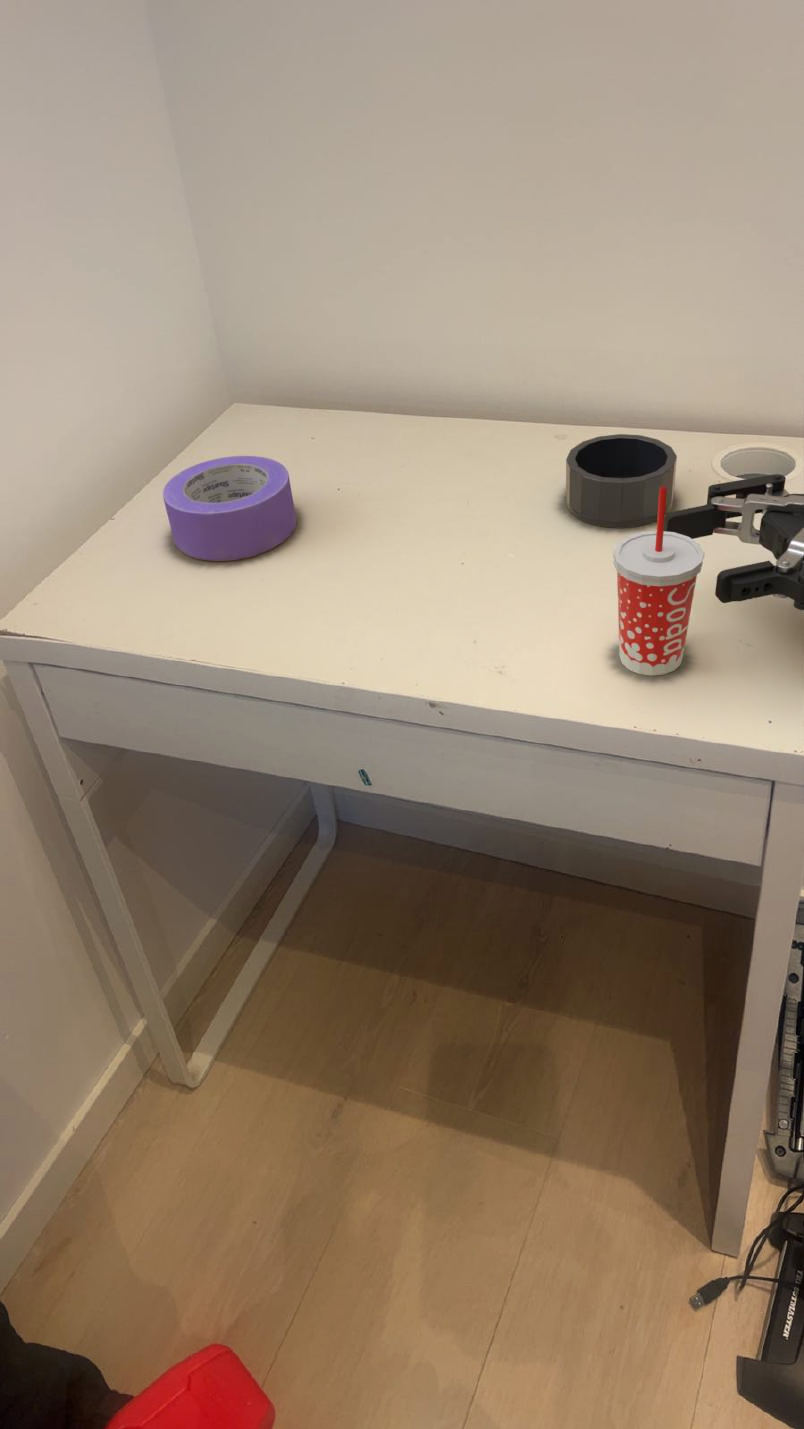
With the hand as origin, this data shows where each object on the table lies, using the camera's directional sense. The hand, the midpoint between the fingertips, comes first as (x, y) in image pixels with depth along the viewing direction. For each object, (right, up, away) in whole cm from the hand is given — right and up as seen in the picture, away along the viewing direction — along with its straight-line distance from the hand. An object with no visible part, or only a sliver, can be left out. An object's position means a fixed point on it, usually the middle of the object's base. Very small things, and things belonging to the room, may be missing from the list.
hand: (690, 557), depth 73 cm
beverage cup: (-2, -7, +5) cm, 9 cm away
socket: (0, +9, +23) cm, 25 cm away
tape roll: (-36, +6, +26) cm, 45 cm away
